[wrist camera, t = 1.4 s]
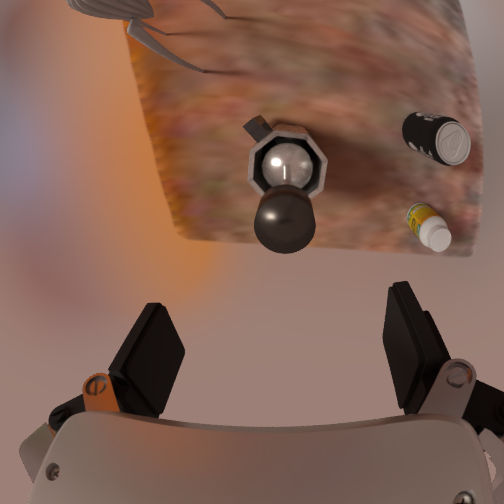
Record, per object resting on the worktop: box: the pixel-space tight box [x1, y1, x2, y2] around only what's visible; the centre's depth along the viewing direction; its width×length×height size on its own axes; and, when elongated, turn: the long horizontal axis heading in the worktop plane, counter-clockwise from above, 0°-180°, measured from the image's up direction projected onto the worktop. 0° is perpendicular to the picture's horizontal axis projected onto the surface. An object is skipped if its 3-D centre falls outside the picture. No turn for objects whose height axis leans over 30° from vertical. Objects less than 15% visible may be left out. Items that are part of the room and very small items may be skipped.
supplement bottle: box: [407, 203, 451, 252], centre depth 40 cm, size 5×5×10 cm
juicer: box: [66, 0, 227, 73], centre depth 21 cm, size 10×9×30 cm
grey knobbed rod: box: [254, 143, 316, 254], centre depth 26 cm, size 6×6×18 cm
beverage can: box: [402, 112, 471, 166], centre depth 32 cm, size 7×7×12 cm
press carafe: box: [243, 115, 328, 199], centre depth 37 cm, size 12×9×12 cm
